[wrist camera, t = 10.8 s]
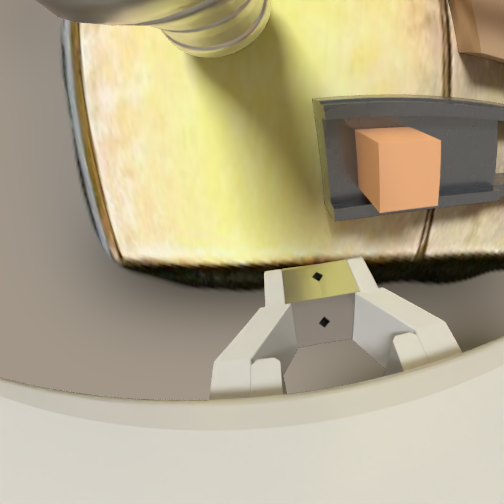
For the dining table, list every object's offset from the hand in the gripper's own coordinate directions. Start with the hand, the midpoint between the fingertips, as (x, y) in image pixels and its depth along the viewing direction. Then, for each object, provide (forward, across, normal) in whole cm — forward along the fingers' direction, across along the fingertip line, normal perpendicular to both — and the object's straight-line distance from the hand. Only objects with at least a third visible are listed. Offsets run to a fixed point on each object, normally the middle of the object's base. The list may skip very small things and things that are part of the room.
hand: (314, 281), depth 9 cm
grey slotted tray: (+13, -15, 0) cm, 20 cm away
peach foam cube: (+11, -7, 0) cm, 13 cm away
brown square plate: (+13, -20, -12) cm, 27 cm away
